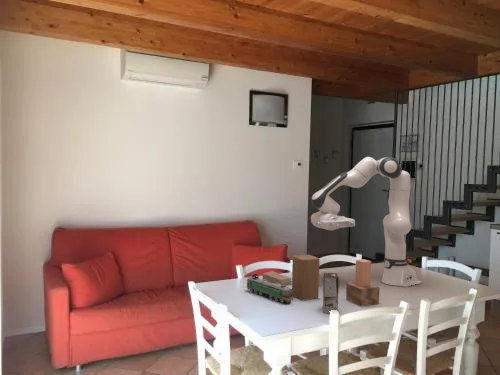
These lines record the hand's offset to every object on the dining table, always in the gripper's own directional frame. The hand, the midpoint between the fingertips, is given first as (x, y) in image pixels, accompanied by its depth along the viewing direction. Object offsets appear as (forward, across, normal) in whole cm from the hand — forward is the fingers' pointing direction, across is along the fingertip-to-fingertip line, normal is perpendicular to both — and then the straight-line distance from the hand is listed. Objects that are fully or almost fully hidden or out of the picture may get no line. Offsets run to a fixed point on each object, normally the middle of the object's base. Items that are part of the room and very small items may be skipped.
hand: (346, 225), depth 226 cm
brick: (-27, -27, +34) cm, 51 cm away
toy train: (-5, -43, +34) cm, 55 cm away
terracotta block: (+19, -4, +27) cm, 33 cm away
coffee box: (+24, -26, +34) cm, 49 cm away
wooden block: (+2, -26, +34) cm, 43 cm away
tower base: (+19, -4, +35) cm, 40 cm away
